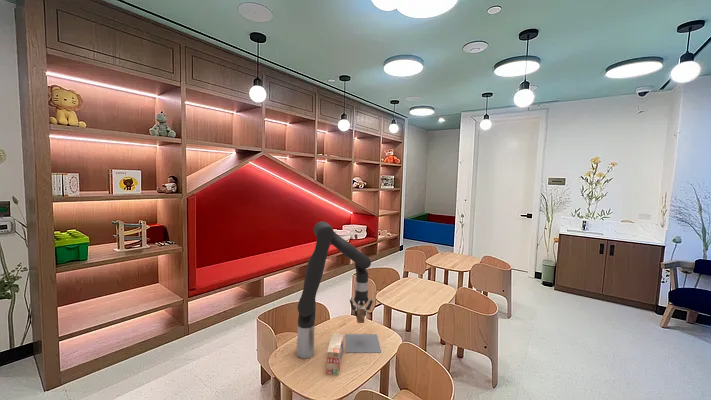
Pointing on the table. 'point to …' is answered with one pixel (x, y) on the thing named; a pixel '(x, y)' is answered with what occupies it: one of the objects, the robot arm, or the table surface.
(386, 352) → the table surface
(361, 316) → the walnut block
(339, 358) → the stack of blocks
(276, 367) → the table surface
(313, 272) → the robot arm
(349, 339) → the mat
